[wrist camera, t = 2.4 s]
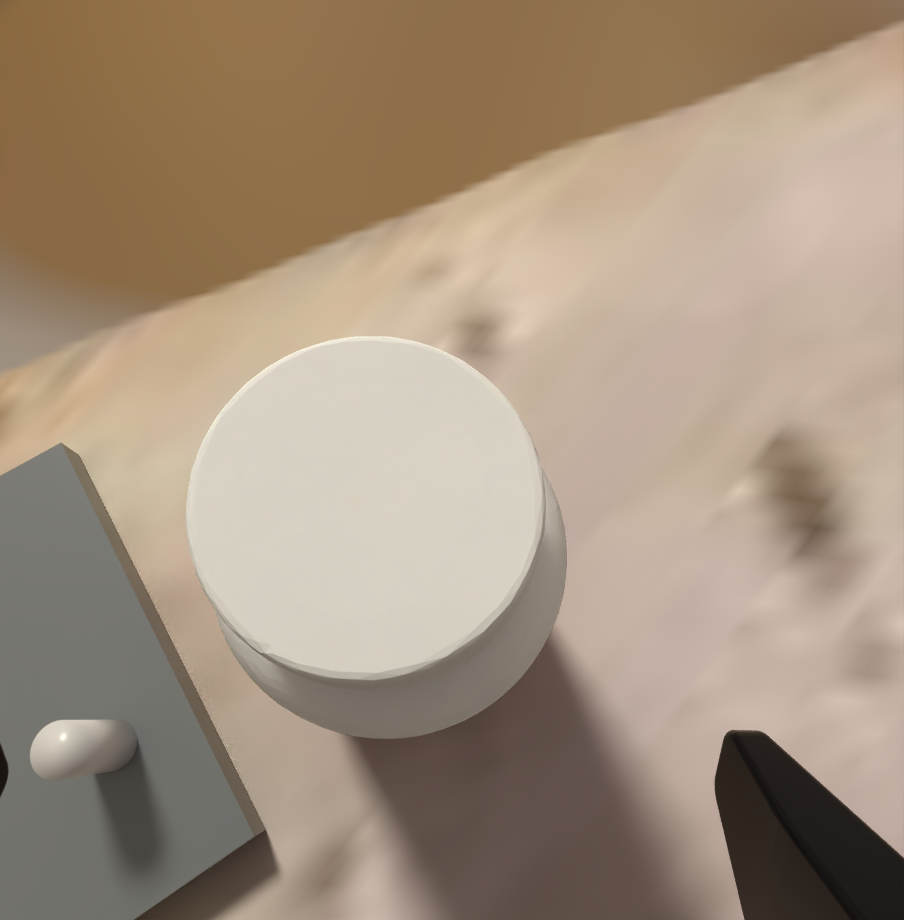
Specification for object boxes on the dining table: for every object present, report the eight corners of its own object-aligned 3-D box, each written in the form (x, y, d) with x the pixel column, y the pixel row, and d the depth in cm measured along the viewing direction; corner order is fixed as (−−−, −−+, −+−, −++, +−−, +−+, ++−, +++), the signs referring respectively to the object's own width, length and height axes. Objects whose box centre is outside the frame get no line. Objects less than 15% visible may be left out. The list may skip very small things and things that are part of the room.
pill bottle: (289, 535, 20) (101, 337, 10) (494, 485, 21) (528, 244, 10) (328, 757, 18) (142, 813, 8) (555, 697, 19) (676, 671, 8)
